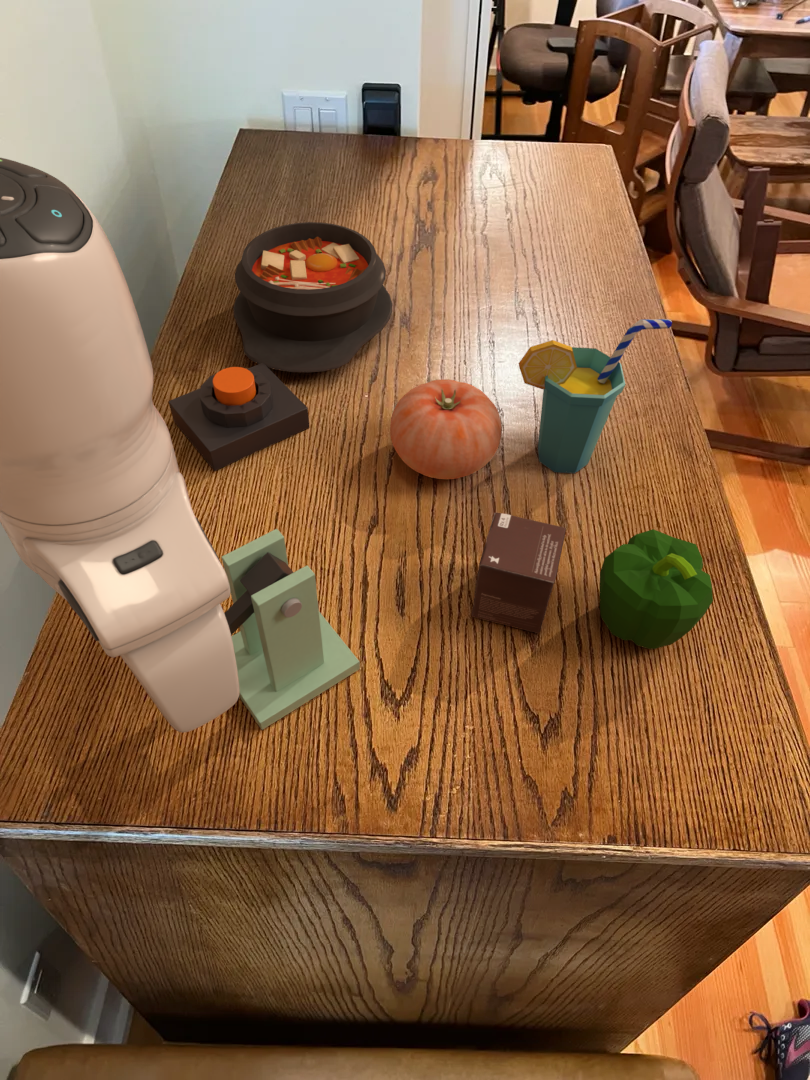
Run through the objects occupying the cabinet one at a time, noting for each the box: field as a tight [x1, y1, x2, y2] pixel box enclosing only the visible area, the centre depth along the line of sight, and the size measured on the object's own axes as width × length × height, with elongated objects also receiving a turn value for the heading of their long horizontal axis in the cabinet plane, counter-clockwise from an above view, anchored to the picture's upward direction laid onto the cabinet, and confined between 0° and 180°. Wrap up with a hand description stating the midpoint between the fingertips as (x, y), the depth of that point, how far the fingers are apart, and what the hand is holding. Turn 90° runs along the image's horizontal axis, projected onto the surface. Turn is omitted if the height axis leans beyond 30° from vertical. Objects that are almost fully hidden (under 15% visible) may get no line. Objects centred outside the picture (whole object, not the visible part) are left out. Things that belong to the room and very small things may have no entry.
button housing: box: [167, 363, 310, 472], centre depth 78 cm, size 11×9×4 cm
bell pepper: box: [599, 528, 714, 650], centre depth 61 cm, size 8×8×10 cm
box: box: [471, 511, 567, 634], centre depth 63 cm, size 6×6×7 cm
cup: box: [518, 318, 673, 474], centre depth 72 cm, size 14×8×15 cm, turn 110°
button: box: [213, 366, 256, 406], centre depth 76 cm, size 4×4×2 cm
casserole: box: [232, 221, 393, 373], centre depth 88 cm, size 25×19×8 cm
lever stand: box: [221, 528, 361, 731], centre depth 57 cm, size 9×8×13 cm
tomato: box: [389, 379, 503, 480], centre depth 74 cm, size 11×11×8 cm
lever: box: [224, 552, 295, 636], centre depth 53 cm, size 12×5×2 cm, turn 127°
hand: (151, 642), depth 50 cm, fingers closed
